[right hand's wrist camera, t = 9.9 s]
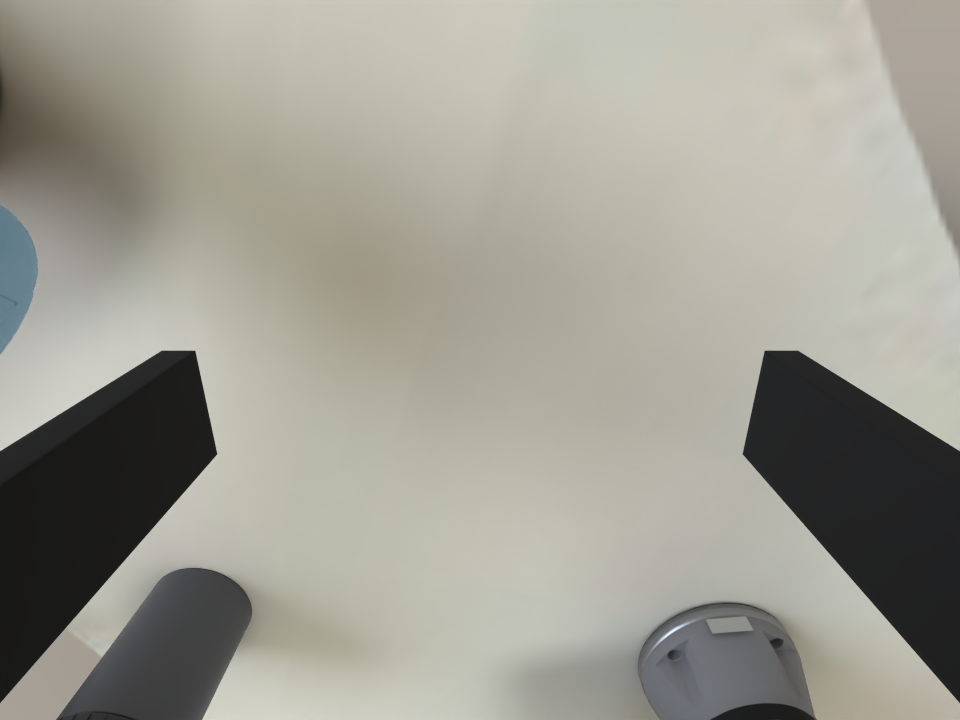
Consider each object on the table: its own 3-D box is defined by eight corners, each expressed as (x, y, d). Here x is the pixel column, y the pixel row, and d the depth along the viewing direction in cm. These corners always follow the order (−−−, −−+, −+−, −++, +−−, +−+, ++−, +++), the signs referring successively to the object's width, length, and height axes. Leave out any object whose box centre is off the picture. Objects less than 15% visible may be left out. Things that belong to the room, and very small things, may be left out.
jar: (262, 585, 50) (173, 763, 35) (239, 651, 53) (150, 838, 38) (162, 555, 48) (28, 727, 34) (145, 625, 52) (16, 809, 37)
